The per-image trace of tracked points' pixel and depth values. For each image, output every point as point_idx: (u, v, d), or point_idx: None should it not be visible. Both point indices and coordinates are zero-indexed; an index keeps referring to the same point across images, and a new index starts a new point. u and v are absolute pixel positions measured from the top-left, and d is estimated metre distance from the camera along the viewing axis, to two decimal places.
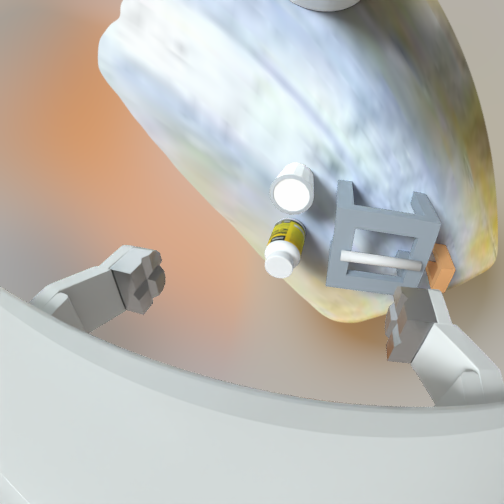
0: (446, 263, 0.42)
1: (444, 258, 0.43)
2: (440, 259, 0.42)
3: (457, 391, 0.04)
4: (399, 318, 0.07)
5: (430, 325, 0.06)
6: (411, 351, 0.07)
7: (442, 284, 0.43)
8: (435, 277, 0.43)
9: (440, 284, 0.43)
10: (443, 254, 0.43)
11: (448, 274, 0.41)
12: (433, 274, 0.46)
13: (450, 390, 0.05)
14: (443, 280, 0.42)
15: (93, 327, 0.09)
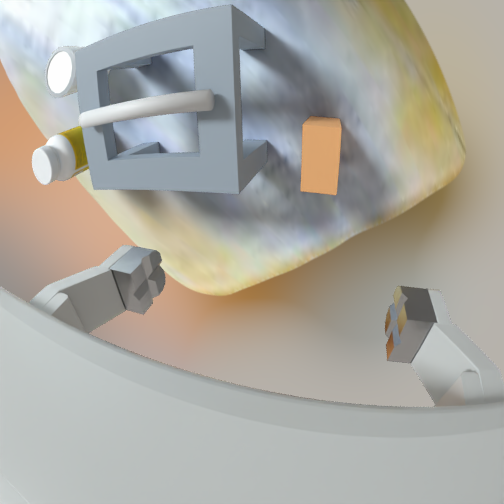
0: (321, 123, 0.21)
1: (321, 121, 0.22)
2: (309, 121, 0.22)
3: (457, 391, 0.04)
4: (399, 318, 0.07)
5: (430, 325, 0.06)
6: (411, 351, 0.07)
7: (322, 171, 0.22)
8: None
9: (316, 171, 0.22)
10: (323, 120, 0.23)
11: (327, 142, 0.20)
12: None
13: (450, 390, 0.05)
14: (320, 159, 0.21)
15: (92, 327, 0.09)
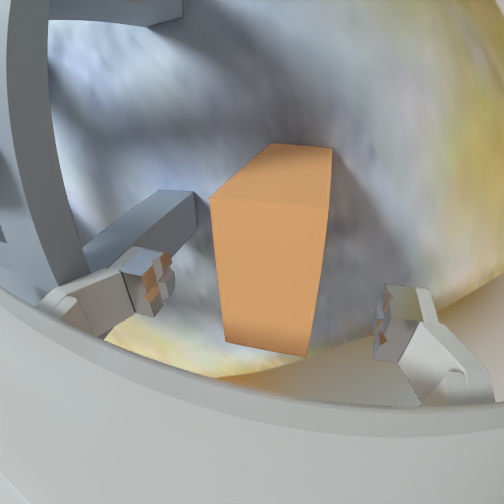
0: (275, 182, 0.08)
1: (282, 169, 0.09)
2: (248, 171, 0.09)
3: (441, 391, 0.04)
4: (385, 317, 0.07)
5: (416, 324, 0.06)
6: (398, 350, 0.07)
7: (270, 313, 0.09)
8: None
9: (257, 312, 0.09)
10: (291, 161, 0.10)
11: (284, 250, 0.07)
12: None
13: (435, 390, 0.05)
14: (265, 289, 0.08)
15: (101, 331, 0.09)
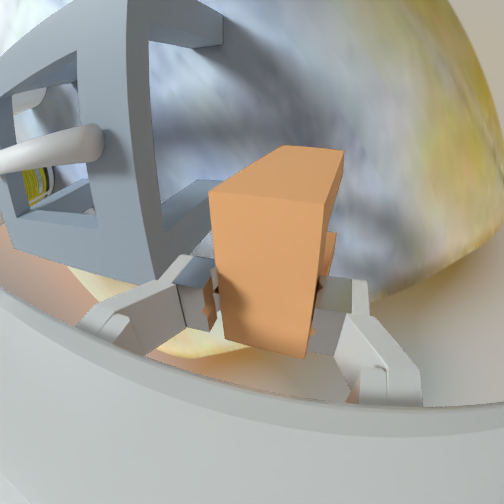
0: (276, 179, 0.08)
1: (287, 168, 0.09)
2: (253, 169, 0.09)
3: (357, 387, 0.05)
4: (315, 308, 0.08)
5: (346, 316, 0.07)
6: (330, 342, 0.07)
7: (268, 311, 0.09)
8: None
9: (255, 310, 0.09)
10: (298, 161, 0.10)
11: (280, 246, 0.07)
12: None
13: (354, 386, 0.05)
14: (262, 286, 0.08)
15: (148, 348, 0.08)
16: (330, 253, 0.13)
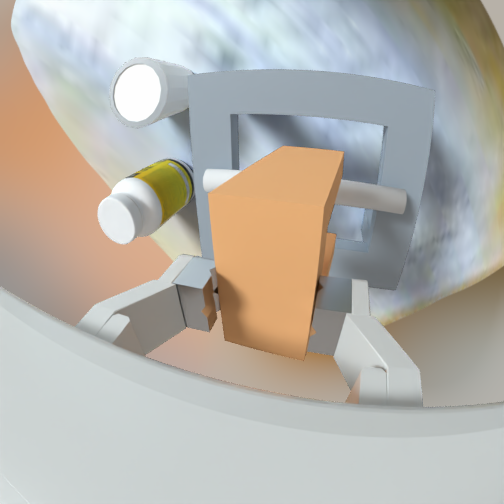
0: (276, 181, 0.08)
1: (287, 169, 0.09)
2: (253, 171, 0.09)
3: (357, 387, 0.05)
4: (315, 308, 0.08)
5: (346, 316, 0.07)
6: (330, 343, 0.07)
7: (268, 313, 0.09)
8: None
9: (255, 311, 0.09)
10: (298, 162, 0.10)
11: (280, 248, 0.07)
12: None
13: (354, 386, 0.05)
14: (262, 288, 0.08)
15: (148, 348, 0.08)
16: (330, 254, 0.13)
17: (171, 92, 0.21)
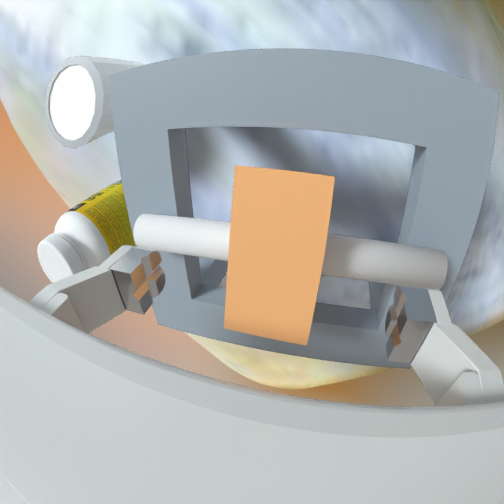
0: None
1: None
2: None
3: (457, 391, 0.04)
4: (399, 318, 0.07)
5: (430, 325, 0.06)
6: (411, 351, 0.07)
7: (276, 288, 0.09)
8: None
9: (262, 287, 0.09)
10: None
11: (295, 215, 0.08)
12: None
13: (450, 390, 0.05)
14: (273, 258, 0.09)
15: (92, 327, 0.09)
16: None
17: (110, 98, 0.14)
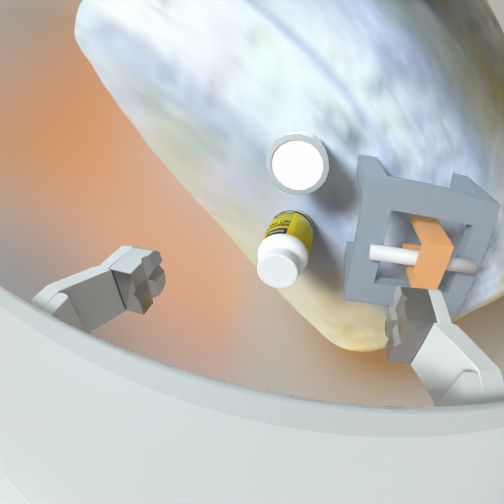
0: (436, 237, 0.23)
1: (432, 230, 0.25)
2: (425, 230, 0.24)
3: (457, 391, 0.04)
4: (399, 318, 0.07)
5: (430, 325, 0.06)
6: (411, 351, 0.07)
7: (431, 276, 0.24)
8: (417, 263, 0.25)
9: (427, 276, 0.24)
10: (430, 225, 0.25)
11: (441, 257, 0.23)
12: None
13: (450, 390, 0.05)
14: (432, 268, 0.24)
15: (92, 327, 0.09)
16: None
17: None
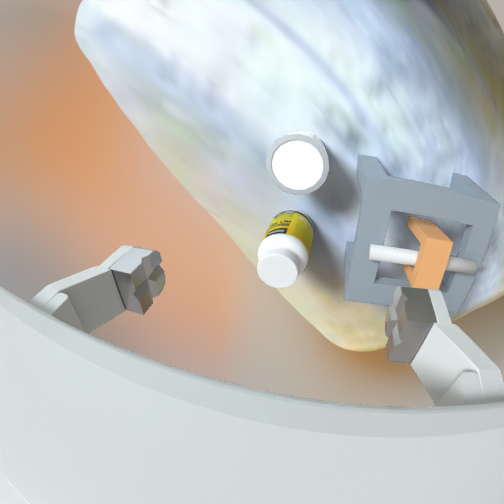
0: (435, 234, 0.24)
1: (430, 230, 0.25)
2: (423, 230, 0.25)
3: (457, 391, 0.04)
4: (400, 318, 0.07)
5: (430, 325, 0.06)
6: (411, 351, 0.07)
7: (432, 274, 0.24)
8: (418, 262, 0.25)
9: (428, 274, 0.24)
10: (428, 226, 0.26)
11: (441, 253, 0.23)
12: None
13: (450, 390, 0.05)
14: (433, 265, 0.24)
15: (92, 327, 0.09)
16: None
17: None
